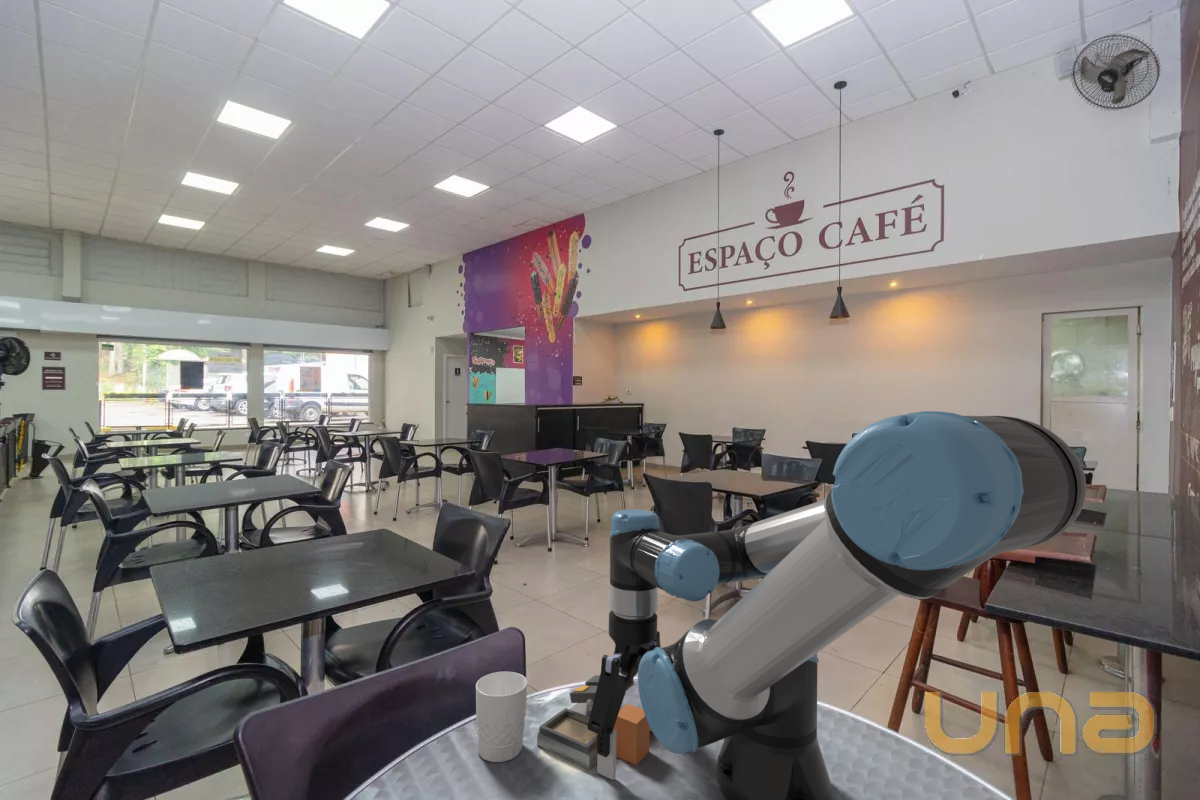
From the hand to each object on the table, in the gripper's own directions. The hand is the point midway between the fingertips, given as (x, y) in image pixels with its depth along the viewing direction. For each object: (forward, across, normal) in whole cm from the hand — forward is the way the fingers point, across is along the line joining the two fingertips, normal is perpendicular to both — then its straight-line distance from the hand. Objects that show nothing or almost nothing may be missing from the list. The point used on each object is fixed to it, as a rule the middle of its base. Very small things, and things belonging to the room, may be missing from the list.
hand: (630, 751), depth 82 cm
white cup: (0, +11, -17) cm, 20 cm away
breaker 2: (-5, -6, -8) cm, 11 cm away
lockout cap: (0, 0, 0) cm, 0 cm away
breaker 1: (-5, -2, -8) cm, 9 cm away
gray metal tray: (0, 0, -8) cm, 8 cm away
